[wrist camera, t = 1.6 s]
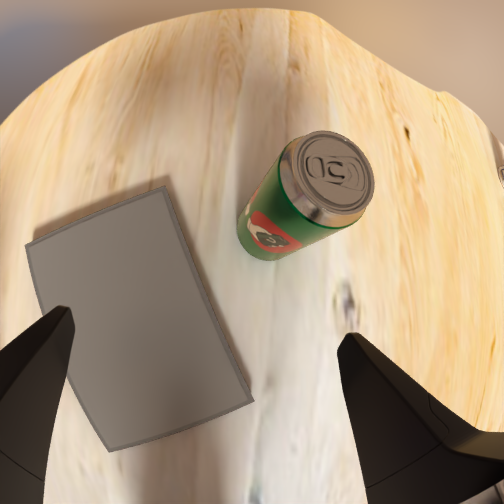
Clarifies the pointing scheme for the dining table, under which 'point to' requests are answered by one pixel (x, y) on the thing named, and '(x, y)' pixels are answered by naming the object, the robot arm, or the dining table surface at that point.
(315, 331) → the dining table surface
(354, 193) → the soda can
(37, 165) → the dining table surface
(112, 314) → the slate board
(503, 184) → the pill bottle
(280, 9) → the dining table surface
